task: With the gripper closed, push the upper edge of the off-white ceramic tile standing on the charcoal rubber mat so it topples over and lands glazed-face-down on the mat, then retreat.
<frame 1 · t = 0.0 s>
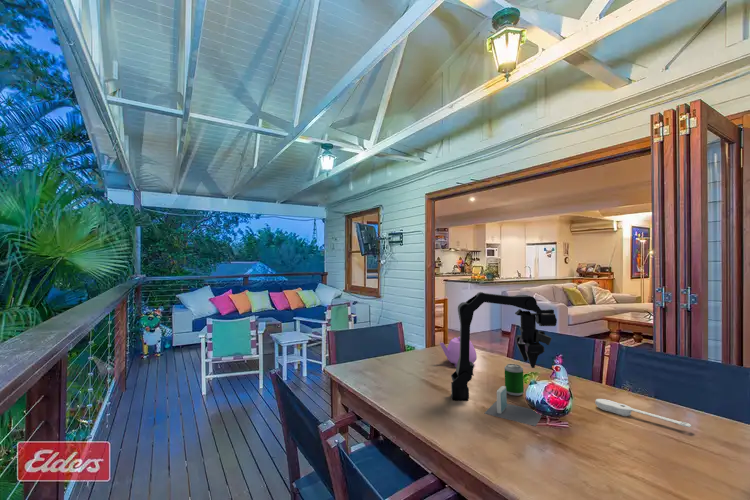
hand: (529, 364, 144), 15 cm above the table, fingers open, 9 cm apart
soda can: (514, 394, 151), on the table
mat: (514, 413, 132), on the table
teapot: (457, 363, 197), on the table
tile: (501, 409, 134), resting on mat
spatula: (639, 419, 126), on the table
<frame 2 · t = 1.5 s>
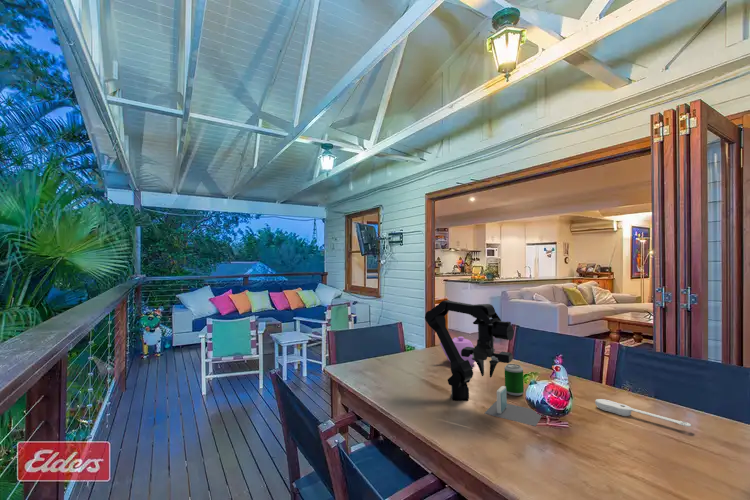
hand: (486, 376, 138), 12 cm above the table, fingers open, 3 cm apart
nothing on the table moved.
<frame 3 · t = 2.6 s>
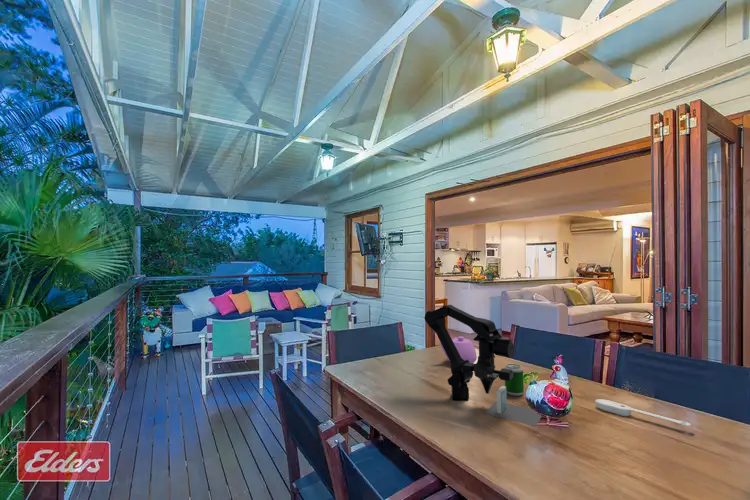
hand: (487, 393, 138), 6 cm above the table, fingers closed
nothing on the table moved.
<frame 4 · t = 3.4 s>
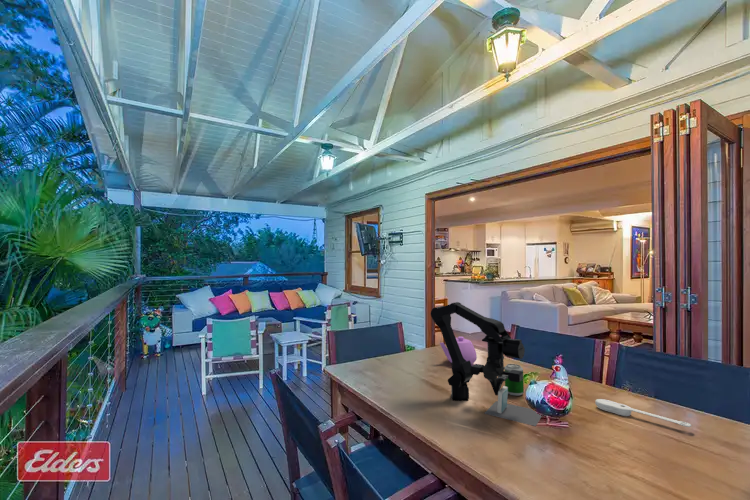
hand: (496, 395, 136), 6 cm above the table, fingers closed
nothing on the table moved.
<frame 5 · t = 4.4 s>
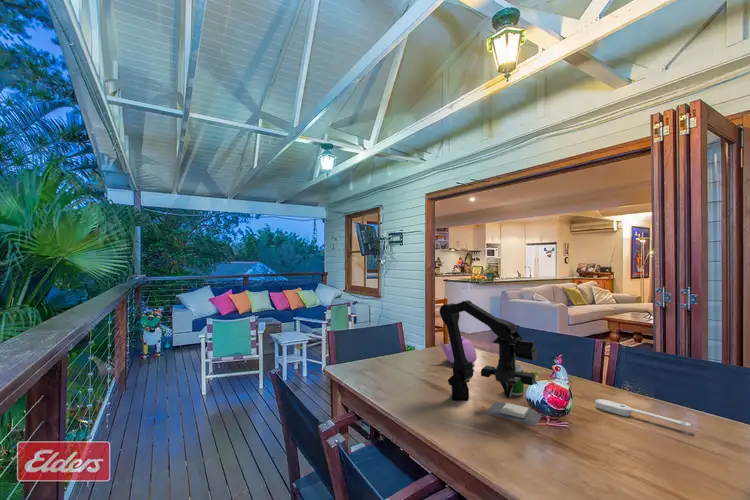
hand: (508, 397, 133), 6 cm above the table, fingers closed
tile: (504, 407, 134), point 1 cm above the table, tilted 90°, touching mat
everything else where it was.
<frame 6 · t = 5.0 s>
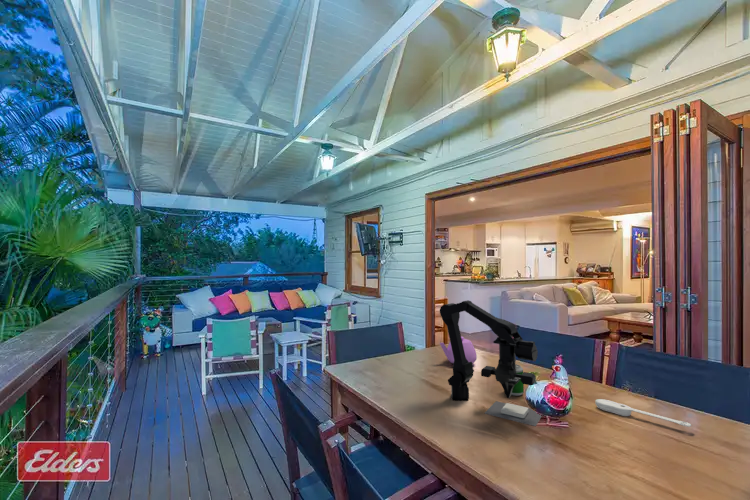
hand: (508, 397, 133), 5 cm above the table, fingers closed
nothing on the table moved.
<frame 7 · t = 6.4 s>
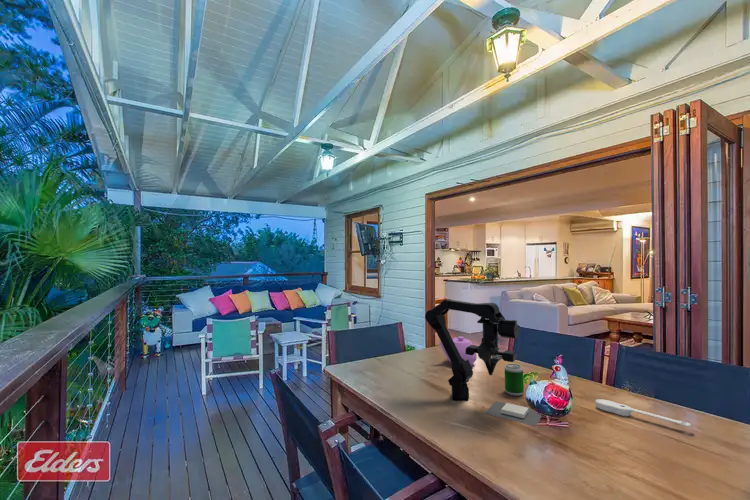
hand: (490, 375, 139), 12 cm above the table, fingers closed
nothing on the table moved.
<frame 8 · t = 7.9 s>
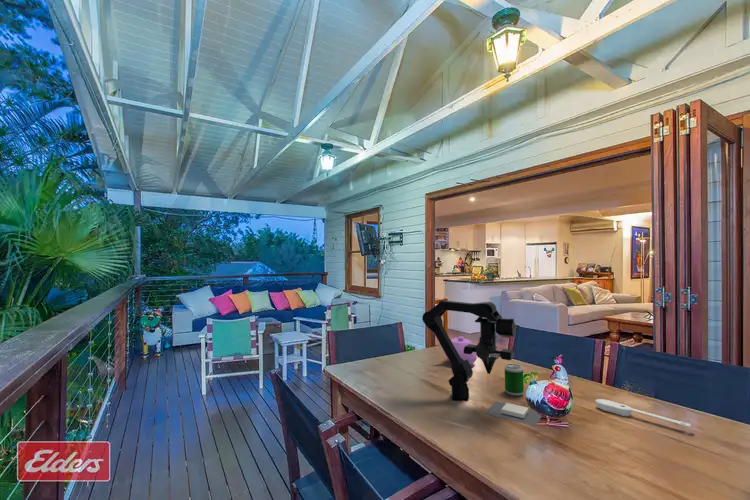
hand: (488, 373, 140), 13 cm above the table, fingers closed
nothing on the table moved.
at the end: tile tilted 90°; tile inside the target area on the mat (3.6 cm from its centre), point 1.4 cm above the mat's base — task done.
